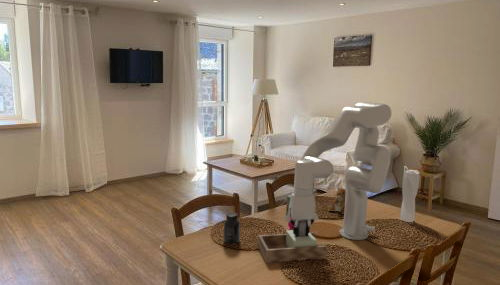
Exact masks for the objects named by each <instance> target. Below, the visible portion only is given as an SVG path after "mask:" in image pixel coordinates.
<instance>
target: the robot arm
mask: <svg viewBox="0 0 500 285" xmlns="http://www.w3.org/2000/svg"><path fill="white" fill-rule="evenodd" d="M391 118H392V109H391V107H390V106H389V104H388V105H387V103H379V102H370V101H369V102H367V101H366V102H365V101H364V102H361V101H360V102H358V103H356V104H354V106H344V107H343V108H342V109H341V110H340V111H339V112H338V115H337V116H336V118H335V120H334V121H333V123H332V124H331V126H330V128H329V129H328V131H327V133H326V134H324V135H322V136H321V137H319V138H317V139H316V140H315V141H314V142H312V143H311V144H309V146H308V147H307V149H306V150H305V152H304V153H303V155H302V157H301V159H298V160H297V161H295V163H294V164H295V165H294V178H293V179H294V182H293V192H292V193H290V194H291V198H290V204H289V212H288V215H287V216H286V215H285V218H284V219H285V221H286V222H287V223H288V222H290V223H291V224H292V225H293V234H294V235H295V236H296V237H298V227H297V226H298V220H306V236H308V233H309V232H311V229H310V228H311V227H312V224H314V223H315V221H318V220H319V216H318V214H317V211H316V207H317V206H316V197H315V194H314V192H317V187H314V180H315V179H327V178H329V177H330V176H332V174H333V172H334V165H333V164H332V162H331V161H330V160H327V159H324V158H320V157H321V155H322V154H323V153H325V152H327V151H329V150H332V149H337V148H340V147H343V146H344V145H346V143H347V142H348V140H349V138H350V136H351V135H352V133H353V131H354V130H355V128H357V129H358V130H359V131H358V136H357V141H356V145H355V148H354V154H353V159H354V161H355V162H356V163H357V164H361V165H365V166H369V167H371V169H370V168H367V167H363V166H358V165H352V166H349V167H348V168H347V169H346V170H345V172H344V184H345V186H344V187H345V190H346V197H345V210H344V215H343V223H342V224H343V225H342V226H343V227H342V228H340V229H339V231H338V232H340V233H339V235H340V234H341V235H340V236H341V237H343V238H346V239H348V240H353V241H362V240H366V239H368V237H369V232H373V231H374V232H375V231H376V227H375V226H370V225H369V224H366V221H367V208H368V206H367V205H368V195H367V192H368V193H372V194H379V193H380V192H381V191H382V189H383V188H384V185H385V182H386V178H387V175H388V172H389V167H390V163H391V152H390V150H389V148H387V147H386V146H384V145H378V140H379V136H380V132H379V126H382V125H385V124H387V123H388V122H389V121H390V119H391ZM290 217H291V218H292V219H293V220H292V219H290Z"/></svg>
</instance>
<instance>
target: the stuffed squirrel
mask: <svg viewBox="0 0 500 285" xmlns="http://www.w3.org/2000/svg"><path fill="white" fill-rule="evenodd" d="M334 197H335V198H334V199H333V200H332V204H331V207H329V208H328V209H327V211H328V210H336V211H339V212H342V213H343V214H344V210H345V197H346V188H342V187H337V192H336V193H335V194H334ZM336 211H335V212H336ZM343 214H342V215H343Z"/></svg>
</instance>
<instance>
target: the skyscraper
mask: <svg viewBox="0 0 500 285" xmlns="http://www.w3.org/2000/svg"><path fill="white" fill-rule="evenodd" d="M401 185H402V187H401V188H402V189H401V190H402V191H401V192H402V201H401V205H400V206H401V207H400V213H399V218H398V219H399V220H403V221H406V222H412V223H414V222H415V218H416V216H415V215H416V200H415V199H416V197H417V194H418V191H419V186H420V172H419V170H417V169H408V167H407V166H406V165H404V166H403V175H402V184H401ZM413 221H414V222H413Z"/></svg>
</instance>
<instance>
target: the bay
mask: <svg viewBox="0 0 500 285" xmlns="http://www.w3.org/2000/svg"><path fill="white" fill-rule="evenodd" d="M310 233H311V234H312V236H313V237H314V238H315V232H311V231H310ZM258 247H259V248H258ZM257 248H258V249H259V252H260V253H261V255H262V257H263V259H264V261H265V263H266V264H268V263H270V264H271V263H282V262H283V261H284V262H294V261H293V260H298V261H307V260H306V259H311V260H321V259H324V260H325V259H326V258H327V245H317V244H316V246H308V247H293V248H288V247H287V245H286V233H278V234H277V233H275V234H260V235H259V234H258V239H257Z"/></svg>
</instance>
